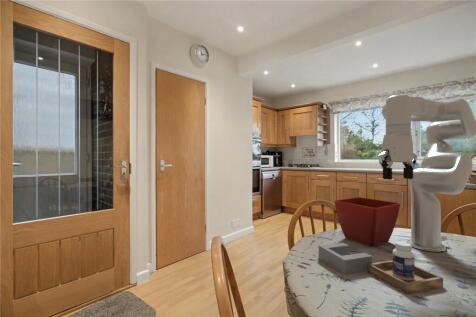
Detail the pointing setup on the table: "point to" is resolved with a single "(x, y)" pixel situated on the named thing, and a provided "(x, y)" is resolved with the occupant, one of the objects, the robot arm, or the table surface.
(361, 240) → the plant pot
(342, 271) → the dock
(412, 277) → the pill bottle
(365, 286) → the table surface
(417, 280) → the tray
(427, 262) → the table surface
